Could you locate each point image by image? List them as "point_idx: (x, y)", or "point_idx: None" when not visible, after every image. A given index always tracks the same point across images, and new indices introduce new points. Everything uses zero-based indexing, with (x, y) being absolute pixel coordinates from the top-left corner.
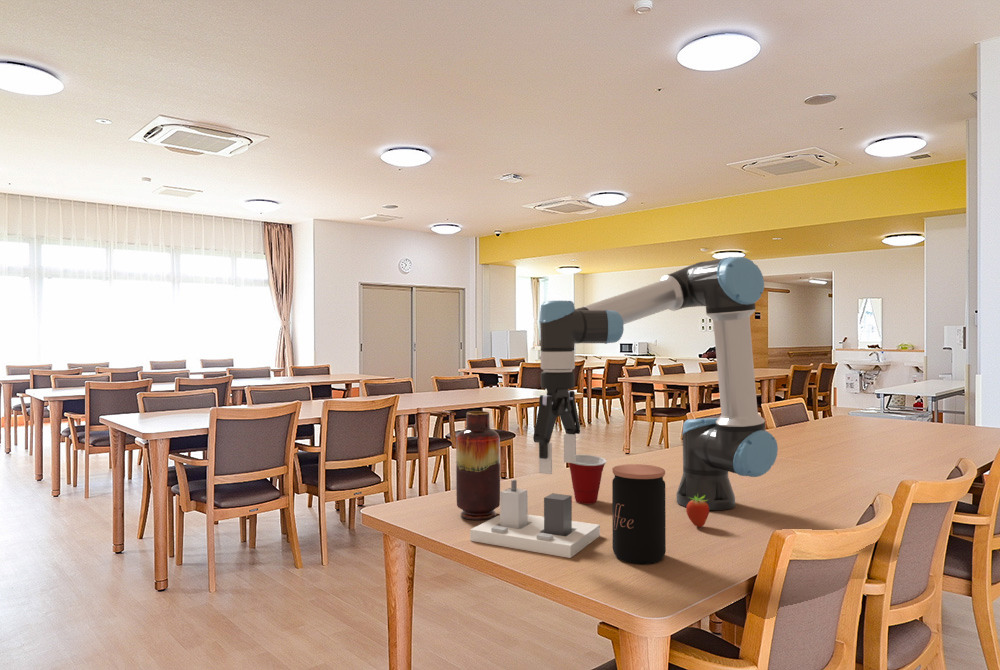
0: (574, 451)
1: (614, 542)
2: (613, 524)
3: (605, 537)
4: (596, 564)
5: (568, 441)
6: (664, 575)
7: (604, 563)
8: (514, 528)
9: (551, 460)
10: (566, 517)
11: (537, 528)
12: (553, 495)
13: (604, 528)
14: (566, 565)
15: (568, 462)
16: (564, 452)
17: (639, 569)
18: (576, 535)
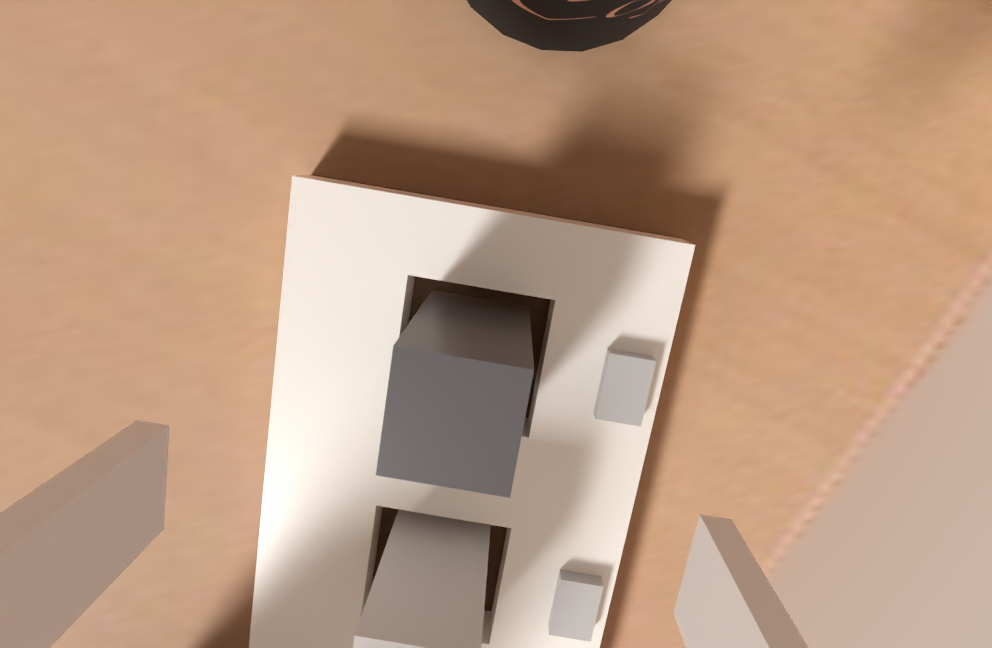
0: (96, 482)
1: (642, 21)
2: (650, 6)
3: (323, 142)
4: (734, 105)
5: (14, 622)
6: None
7: (711, 71)
8: (506, 554)
9: (752, 591)
10: (488, 330)
11: None
12: (433, 456)
13: (177, 176)
14: (779, 233)
15: (164, 487)
16: (106, 580)
17: None
18: (521, 253)
